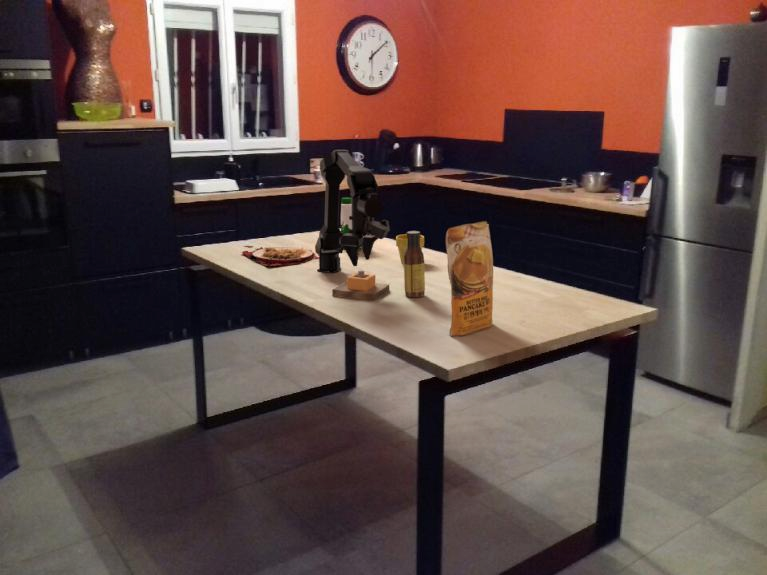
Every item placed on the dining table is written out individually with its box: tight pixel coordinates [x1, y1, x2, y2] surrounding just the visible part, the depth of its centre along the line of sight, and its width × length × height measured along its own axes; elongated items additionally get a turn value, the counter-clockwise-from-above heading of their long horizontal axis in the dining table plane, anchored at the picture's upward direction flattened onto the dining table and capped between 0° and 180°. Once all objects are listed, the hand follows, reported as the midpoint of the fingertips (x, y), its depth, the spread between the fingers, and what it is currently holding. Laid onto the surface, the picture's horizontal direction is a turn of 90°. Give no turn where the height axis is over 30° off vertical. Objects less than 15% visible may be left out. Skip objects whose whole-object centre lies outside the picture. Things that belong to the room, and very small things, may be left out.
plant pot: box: [395, 233, 425, 265], centre depth 255 cm, size 10×10×10 cm
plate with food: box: [241, 245, 319, 267], centre depth 264 cm, size 25×26×4 cm
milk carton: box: [340, 197, 362, 251], centre depth 278 cm, size 9×9×20 cm
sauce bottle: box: [403, 230, 426, 299], centre depth 212 cm, size 7×6×20 cm
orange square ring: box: [346, 272, 376, 291], centre depth 216 cm, size 7×7×4 cm
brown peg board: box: [331, 270, 390, 302], centre depth 216 cm, size 14×12×7 cm
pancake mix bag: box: [445, 220, 494, 337], centre depth 181 cm, size 7×19×28 cm, turn 131°
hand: (361, 262), depth 214 cm, fingers open, 9 cm apart
